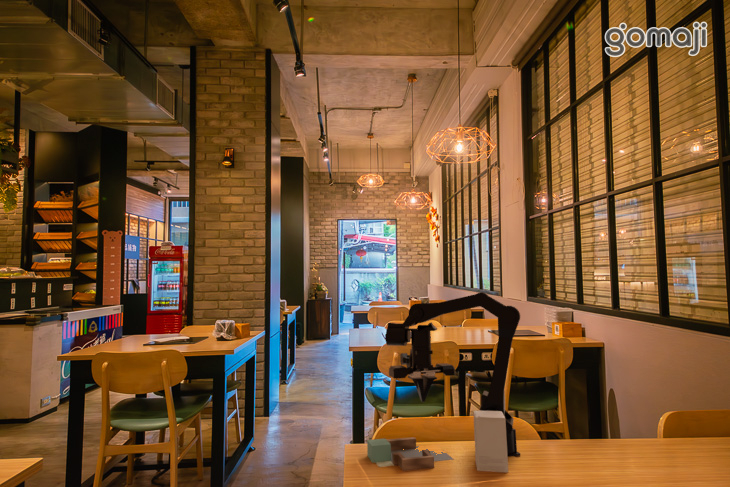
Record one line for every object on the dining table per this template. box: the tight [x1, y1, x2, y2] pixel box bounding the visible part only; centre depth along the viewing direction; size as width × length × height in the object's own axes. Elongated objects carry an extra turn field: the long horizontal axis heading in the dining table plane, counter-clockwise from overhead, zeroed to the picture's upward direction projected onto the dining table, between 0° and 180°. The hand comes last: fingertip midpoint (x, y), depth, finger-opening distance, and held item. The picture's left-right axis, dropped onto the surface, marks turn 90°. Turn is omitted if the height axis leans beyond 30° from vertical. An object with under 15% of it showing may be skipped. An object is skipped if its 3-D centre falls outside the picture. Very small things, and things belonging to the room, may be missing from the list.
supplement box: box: [473, 410, 509, 473], centre depth 106 cm, size 7×7×13 cm
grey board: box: [375, 445, 455, 468], centre depth 114 cm, size 20×12×1 cm, turn 103°
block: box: [366, 438, 391, 464], centre depth 112 cm, size 5×5×4 cm
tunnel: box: [386, 436, 435, 472], centre depth 112 cm, size 10×16×3 cm, turn 13°
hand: (422, 401), depth 124 cm, fingers closed
